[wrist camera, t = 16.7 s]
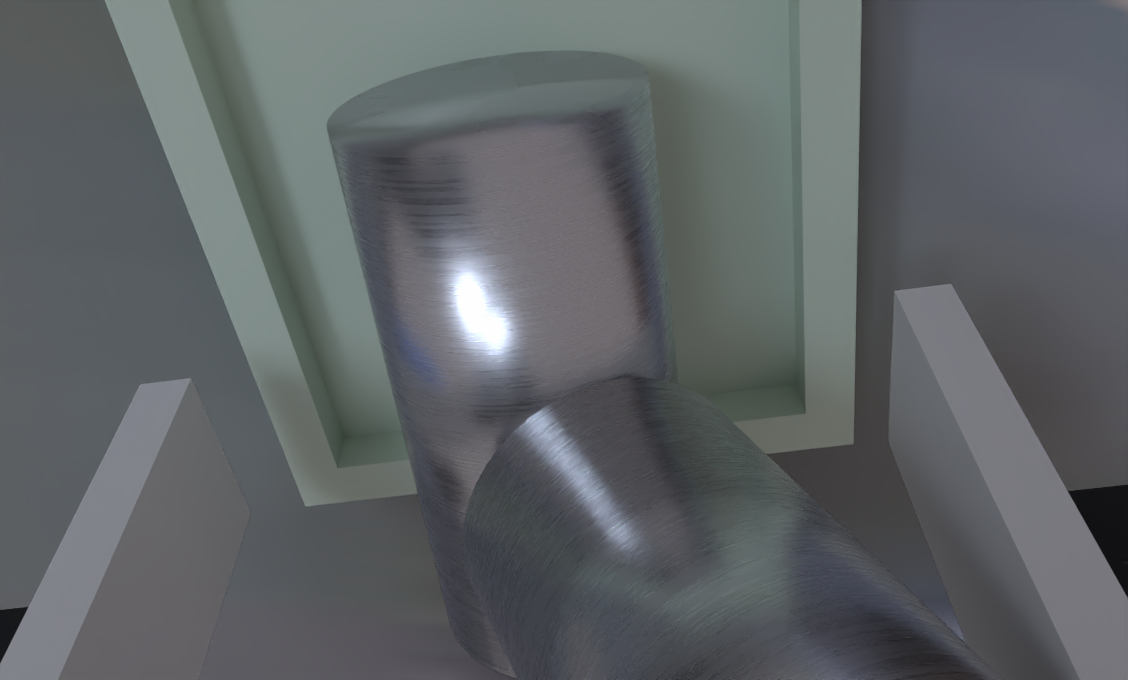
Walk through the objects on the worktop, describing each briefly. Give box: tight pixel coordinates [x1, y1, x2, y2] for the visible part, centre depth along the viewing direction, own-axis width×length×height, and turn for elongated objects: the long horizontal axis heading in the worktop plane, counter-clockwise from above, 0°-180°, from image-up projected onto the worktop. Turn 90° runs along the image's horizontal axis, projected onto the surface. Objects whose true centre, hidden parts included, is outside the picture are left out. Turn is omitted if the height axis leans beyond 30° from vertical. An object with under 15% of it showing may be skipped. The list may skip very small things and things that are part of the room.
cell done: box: [326, 51, 679, 678], centre depth 15 cm, size 4×4×9 cm
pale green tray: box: [105, 0, 862, 507], centre depth 15 cm, size 15×10×1 cm, turn 8°
